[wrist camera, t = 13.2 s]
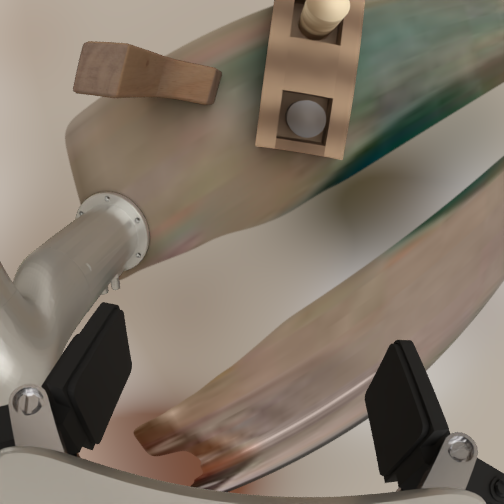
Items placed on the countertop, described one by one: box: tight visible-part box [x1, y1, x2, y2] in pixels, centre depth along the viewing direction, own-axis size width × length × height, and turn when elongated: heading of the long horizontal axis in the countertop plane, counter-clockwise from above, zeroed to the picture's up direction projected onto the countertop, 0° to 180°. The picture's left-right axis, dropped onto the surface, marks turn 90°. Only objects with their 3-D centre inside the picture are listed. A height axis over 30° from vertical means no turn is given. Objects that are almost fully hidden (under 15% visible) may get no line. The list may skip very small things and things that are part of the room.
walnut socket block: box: [255, 0, 365, 160], centre depth 32 cm, size 20×10×7 cm, turn 173°
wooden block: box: [73, 41, 222, 105], centre depth 28 cm, size 9×4×18 cm, turn 74°
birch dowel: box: [298, 0, 350, 40], centre depth 27 cm, size 4×4×10 cm
